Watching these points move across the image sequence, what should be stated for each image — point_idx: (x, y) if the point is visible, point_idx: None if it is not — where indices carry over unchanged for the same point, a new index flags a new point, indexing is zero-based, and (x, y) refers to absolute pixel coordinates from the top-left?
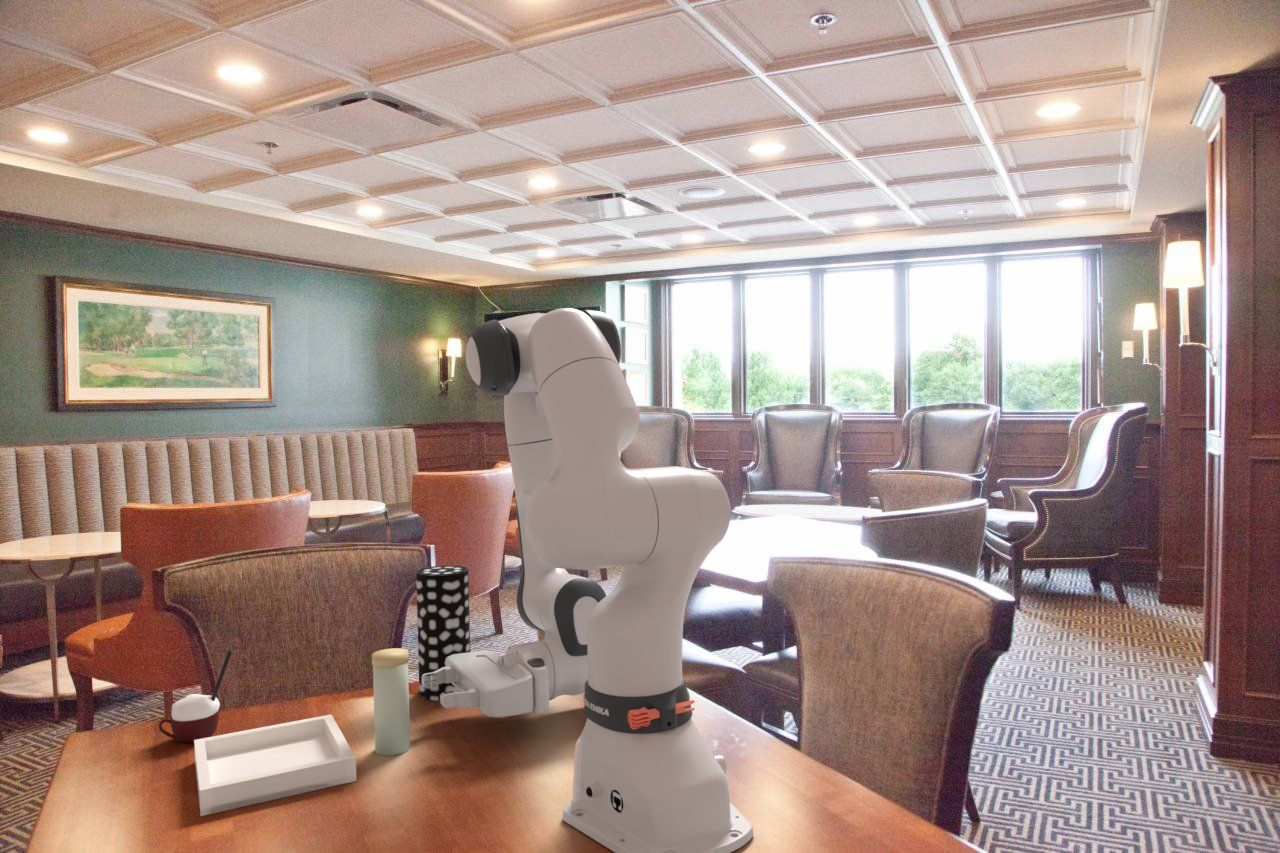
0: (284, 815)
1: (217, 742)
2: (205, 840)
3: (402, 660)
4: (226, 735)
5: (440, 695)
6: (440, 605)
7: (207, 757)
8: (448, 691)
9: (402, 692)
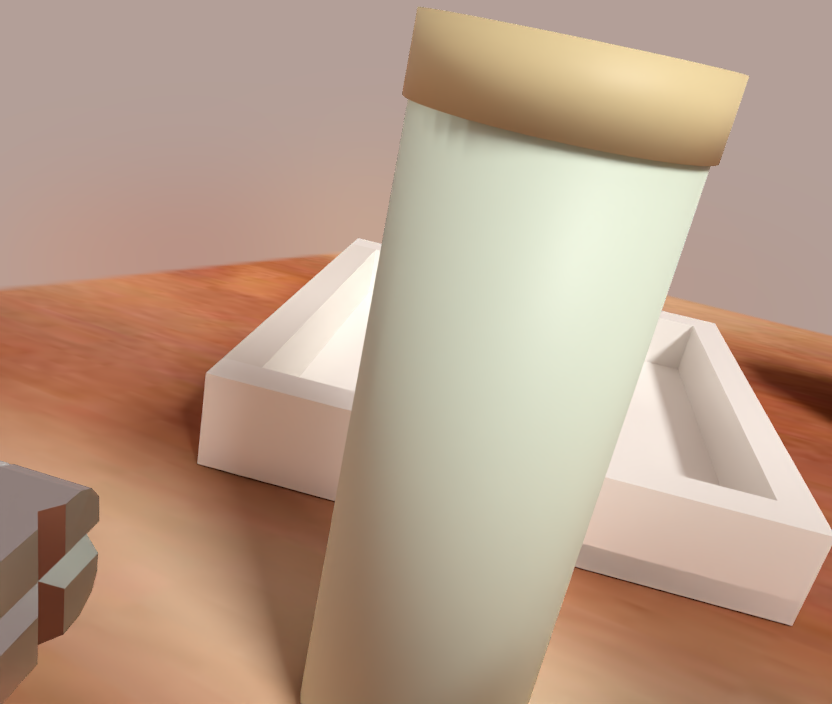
0: (181, 327)
1: (694, 347)
2: (226, 268)
3: (419, 58)
4: (717, 349)
5: (90, 495)
6: None
7: (675, 370)
8: (30, 531)
9: (370, 343)
